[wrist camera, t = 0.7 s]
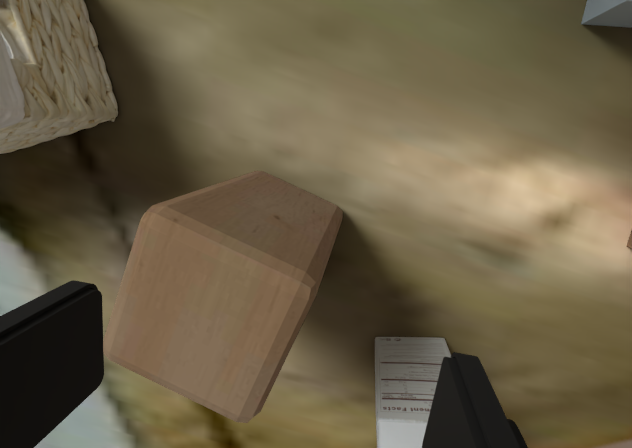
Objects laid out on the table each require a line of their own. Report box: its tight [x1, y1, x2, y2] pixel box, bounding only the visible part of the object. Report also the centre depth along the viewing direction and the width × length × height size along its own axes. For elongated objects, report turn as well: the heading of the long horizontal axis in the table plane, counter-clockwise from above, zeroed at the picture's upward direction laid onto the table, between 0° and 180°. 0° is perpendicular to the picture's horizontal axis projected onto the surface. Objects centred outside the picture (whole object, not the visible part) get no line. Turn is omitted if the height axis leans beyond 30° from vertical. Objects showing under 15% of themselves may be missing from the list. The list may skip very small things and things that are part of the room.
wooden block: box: [103, 171, 343, 423], centre depth 29 cm, size 10×10×20 cm
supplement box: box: [375, 337, 451, 448], centre depth 34 cm, size 7×7×13 cm
